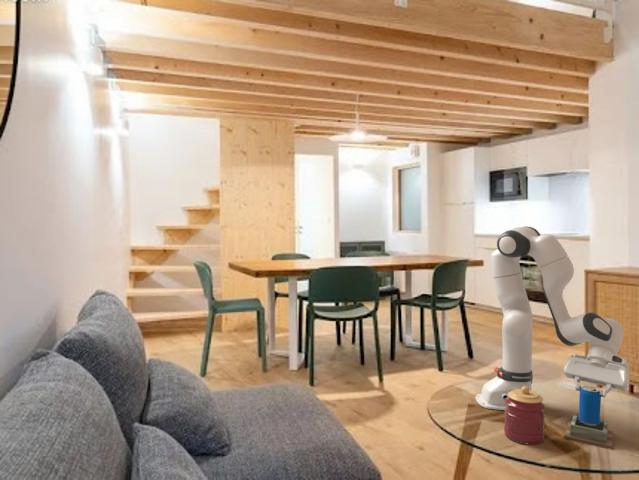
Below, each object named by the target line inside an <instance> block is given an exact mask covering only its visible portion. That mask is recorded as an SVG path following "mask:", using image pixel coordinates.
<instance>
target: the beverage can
mask: <svg viewBox="0 0 639 480" xmlns="http://www.w3.org/2000/svg"><path fill="white" fill-rule="evenodd" d="M600 391H601V389H600V388H598V387H595V386H593V385H592V386H591V385H581V389H580V391H579V397H578V399H579V401H578V402H579V403H578V416H579V420H580V421H581V422H582V423H584V424H586V425H591V426H595V425H597V424H599V423H600V420H601V404H602V402H601V401H602V400H601V399H602V397H601V396H600Z"/></svg>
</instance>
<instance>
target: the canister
mask: <svg viewBox="0 0 639 480" xmlns="http://www.w3.org/2000/svg"><path fill="white" fill-rule="evenodd" d="M543 401H544V398H543V396H541V395H540V394H538V392H536V391H533V390H532V391H531V390H529V388H528V387H527V386H523V387H522V388H521V389H515V390H513V391H511V392H509V393H508V397H507V398H506V399H505V403H506V408H505V410H504V425H503V431H504V435H505V436H506V437H507V438H508V439H510V440H511V439H512V440H511V441H513V440H514V441H513V442H515V441H518V442H517V443H519V442H522V443H521V444H523V443H528V444H527V445H539V444H541V443H543V442H544V440H545V436H546V434H545V433H546V432H545V419H546V414H545V412H544V411H545V409H546V407H547V406H546V404H545V403H544V402H543Z"/></svg>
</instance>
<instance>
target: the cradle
mask: <svg viewBox="0 0 639 480" xmlns="http://www.w3.org/2000/svg"><path fill="white" fill-rule="evenodd" d="M613 436H614V431H613V430H612V429H611V430H610V429H609V421H608V420H607V421H606V420H601V419H600V423H599V424H597V425H595V426H591V425H586V424H584V423H582V422H581V421H580V420H579V414H578V415H577V414H573V416H572V419H571V421H568V423H567V426H566V429H565V433H564V439H565V440H569V441H573V442H577V443H578V442H579V443H583V444H588V445H590V446H595V447H599V446H600V448H604V449H608V448H610V449H609V450H612V448H613V439H614V438H613Z"/></svg>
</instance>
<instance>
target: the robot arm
mask: <svg viewBox="0 0 639 480" xmlns="http://www.w3.org/2000/svg"><path fill="white" fill-rule="evenodd" d="M496 247H497V249H495V250H494V251H493V252H492V253H491V255H490V268H491V274H492V278H493V283H494V287H495V292H496V296H497V298H498V301H499V304H500V308H501V310H502V315H503V319H502V322H501V327H502V328H501V330H502V331H501V334H502V335H501V339H502V342H501V343H502V356H501V357H502V361H501V362H502V364H501V367H498V366H494V367H493V372H494V373H496V376H495V377H493V378H492V379H490V380H488V381H487V382H485V383H484V384H483V386H482V389H481V393H477V394H476V395H475V400H476V402H477V403H478V404H479V406H481V407H483V408H485V409H489V410H498V411H499V410H500V411H505V408H506V403H505V399H506V398H507V397H508V393H509V392H511V391H513V390H515V389H521V388H522V387H523V386H527V387H528V388H529V390H531V391H533V389H532V384H533V377H534V376H533V369H532V363H533V362H532V361H533V359H532V358H533V327H534V326H533V325H534V316H533V313H532V312H533V311H532V308H531V304H530V301H529V298H528V294H527V290H526V287H525V282H524V279H523V273H522V269H521V265H520V259H521V257H522V258H523V257H527V256H530V257H532V259H534V261H535V263H536V265H537V267H538V268H539V272H540V273H541V276H542V277H541V278H542V282H543V283H542V291H543V295H544V298H545V300H546V303H547V307H548V309H549V312H550V315H551V318H552V320H553V324H554V328H555V334H556V337H557V338H558V340H559V341H560V342H561V343H563V344H564V345H566V346H570V347H574V346H577V345H580V344H582V343H586V342H588V343H589V344H590V347H589V349H588V352H587V356H585V355H579V354H573V355H569V356H568V359H567V362H566V364H565V366H564V368H563V374H564V375H565V377H567V378H569V379H573V380H574V382H575V387H574V389H575V391H578V392H580V389H581V387H582V385H581V384H580V383H581V382H586V383H590V384H593V385H597V386H602V387H606V388H604V389H600V396H601V398H606V397H607V395H608V394H609V393H610V392H611V391H612V390H613V389H615V390H619V391H623V392H624V391H627V390H628V389H629V385H630V380H631V379H630V374H629V373H630V366H629V363H628V362H627V360H626V359H625V358H623V357H621V356H618V353H619V352H618V351H619V350H620V348H621V346H622V342H623V339H624V328H623V325H622V324H621V323H620V322H619V321H617V320H615V319H614V318H611V317H609V318H608V317H606V318H604V317H601V316H600V315H599V314H597V313H596V312H595V313H594V312H587V313H582V314H579V315H576V316H573V317H572V316H570V313H569V311H568V308H567V306H566V303H565V301H564V297H563V293H564V290H565V288H566V287H567V285H568V284H569V283H570V282H571V281H572V279H573V278H574V277H573V276H574V273H575V268H574V264H573V263H572V260H571V259H570V256H568V253H567V251H566V250H565V248H564V247H563V246H562V244H561V243H560V242H559V240H558V239H557V238H556V237H555V235H552V234H549V233H547V234H546V233H545V234H541V233H540V232H539V231H538V230H537V228H535V227H531V226H528V225H527V226H519V227H515V228H512V229H510V230H506V231H504V232H503V233H501V234H500V236H499V237H498V239H497V241H496Z"/></svg>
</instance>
